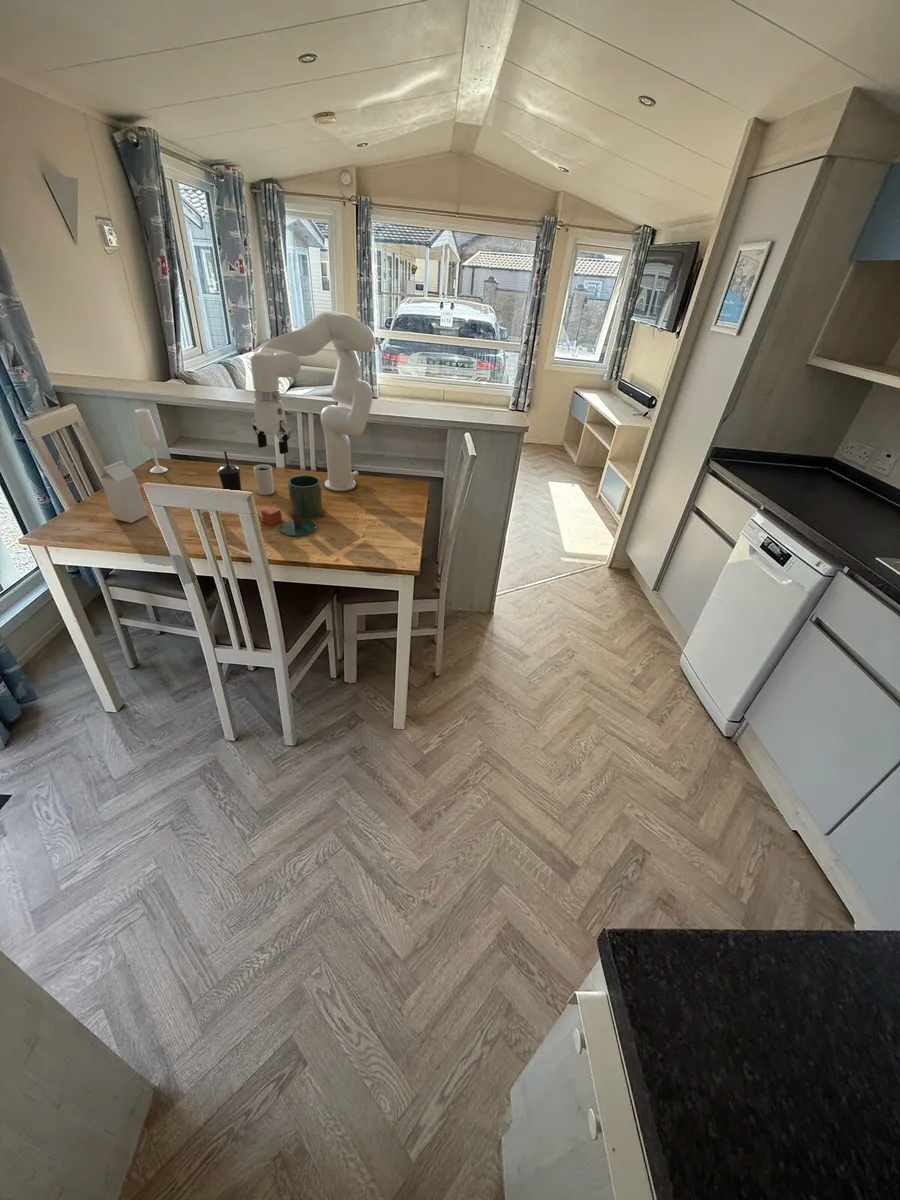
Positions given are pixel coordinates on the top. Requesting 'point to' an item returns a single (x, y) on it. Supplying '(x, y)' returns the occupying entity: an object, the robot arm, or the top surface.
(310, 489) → the canister
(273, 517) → the block
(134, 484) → the milk carton
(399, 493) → the top surface
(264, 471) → the drinking glass
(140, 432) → the champagne flute
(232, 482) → the drinking cup
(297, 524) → the lid
